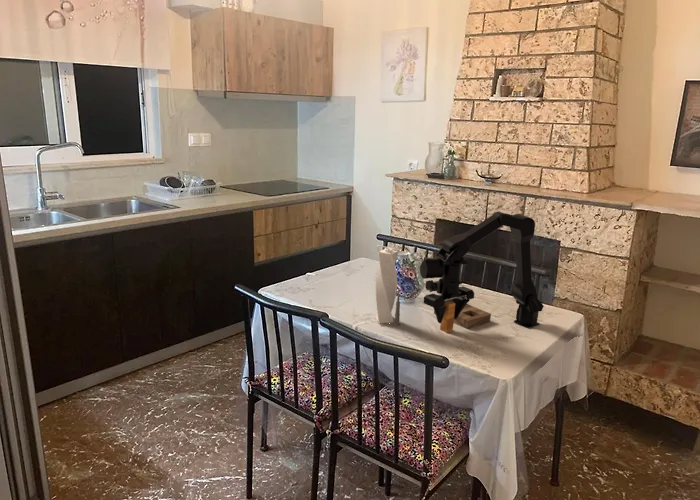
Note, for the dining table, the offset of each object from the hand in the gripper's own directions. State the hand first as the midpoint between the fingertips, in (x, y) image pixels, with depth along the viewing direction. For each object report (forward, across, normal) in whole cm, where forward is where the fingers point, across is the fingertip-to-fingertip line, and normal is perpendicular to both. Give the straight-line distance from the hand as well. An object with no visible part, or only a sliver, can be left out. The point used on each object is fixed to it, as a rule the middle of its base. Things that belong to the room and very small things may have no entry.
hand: (447, 320), depth 177 cm
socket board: (+4, -13, -5) cm, 14 cm away
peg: (+4, 0, 0) cm, 4 cm away
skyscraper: (+4, +13, -17) cm, 22 cm away
